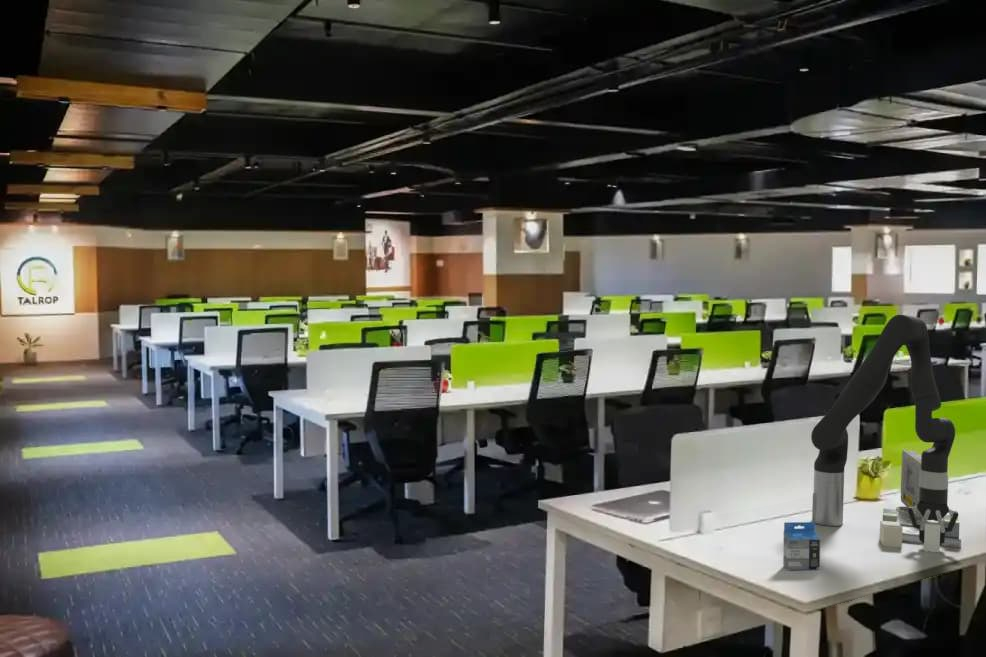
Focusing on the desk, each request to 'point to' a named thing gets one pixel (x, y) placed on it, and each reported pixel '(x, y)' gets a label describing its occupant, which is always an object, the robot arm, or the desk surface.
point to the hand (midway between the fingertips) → (931, 543)
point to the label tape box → (801, 547)
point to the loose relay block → (891, 533)
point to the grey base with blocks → (913, 533)
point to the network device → (910, 482)
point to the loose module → (932, 536)
